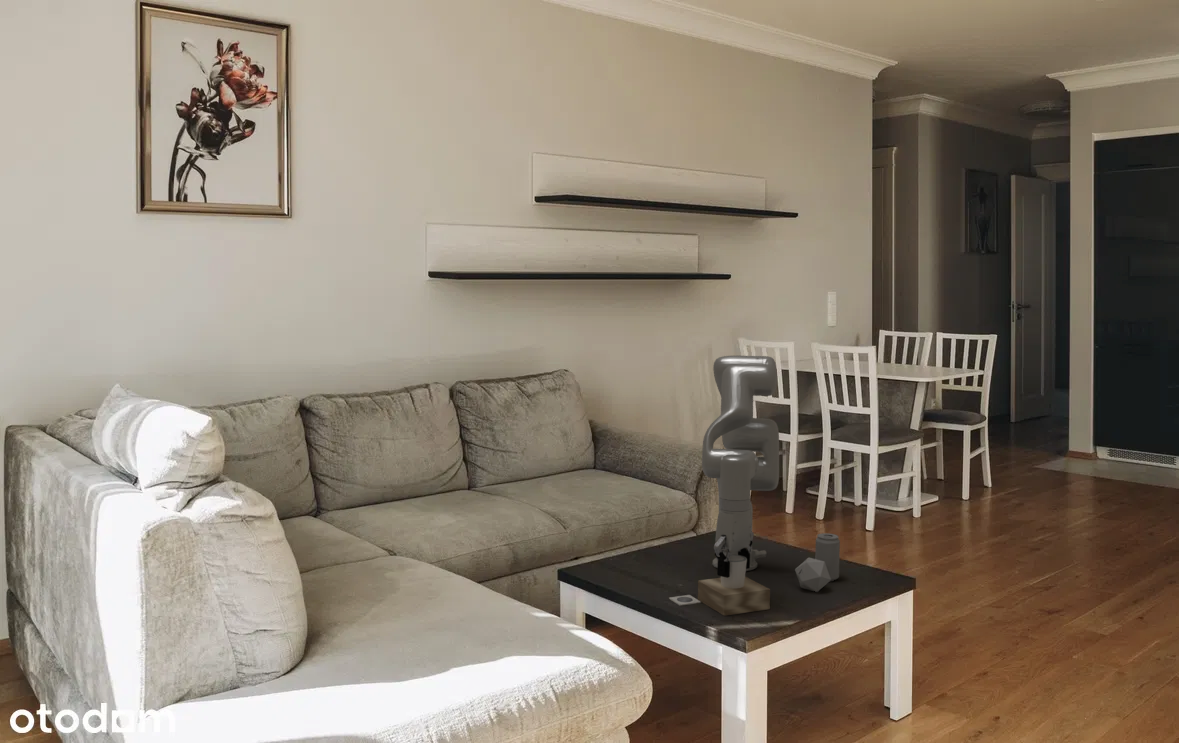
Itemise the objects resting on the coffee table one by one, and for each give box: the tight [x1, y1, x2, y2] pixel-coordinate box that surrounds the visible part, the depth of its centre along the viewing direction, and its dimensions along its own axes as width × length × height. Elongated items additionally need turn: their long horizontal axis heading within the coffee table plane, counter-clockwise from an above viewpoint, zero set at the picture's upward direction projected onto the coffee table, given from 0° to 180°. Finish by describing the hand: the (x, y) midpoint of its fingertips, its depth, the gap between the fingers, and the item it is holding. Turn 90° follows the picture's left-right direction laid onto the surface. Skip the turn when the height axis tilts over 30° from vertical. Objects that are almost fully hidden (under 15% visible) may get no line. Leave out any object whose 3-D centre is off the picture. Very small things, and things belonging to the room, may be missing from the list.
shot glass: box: [720, 555, 747, 589], centre depth 244 cm, size 7×7×7 cm
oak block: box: [697, 576, 771, 617], centre depth 244 cm, size 13×13×5 cm
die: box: [794, 557, 831, 593], centre depth 257 cm, size 8×9×10 cm
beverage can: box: [814, 532, 841, 582], centre depth 266 cm, size 6×6×12 cm
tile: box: [668, 594, 702, 607], centre depth 247 cm, size 6×6×1 cm
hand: (733, 571), depth 244 cm, fingers open, 9 cm apart
